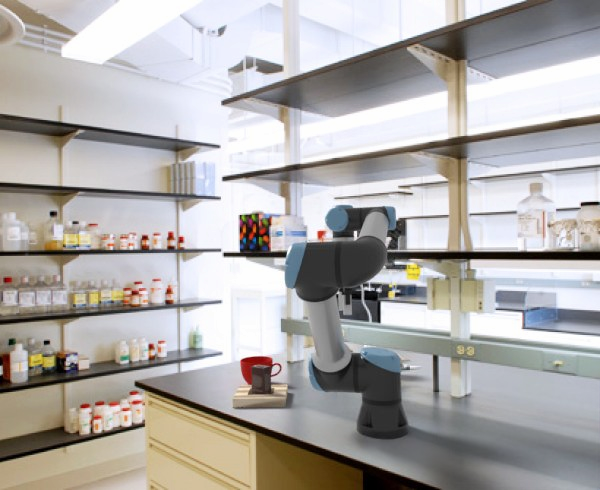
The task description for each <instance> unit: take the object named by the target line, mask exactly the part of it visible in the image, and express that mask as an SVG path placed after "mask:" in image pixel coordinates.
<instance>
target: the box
mask: <svg viewBox="0 0 600 490" xmlns="http://www.w3.org/2000/svg"><path fill="white" fill-rule="evenodd" d="M251 375H252V395H267V394H271V385H272V377H271V375H272V373H271V366H264V365H255V366H252V367H251Z"/></svg>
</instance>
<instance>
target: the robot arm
mask: <svg viewBox="0 0 600 490" xmlns="http://www.w3.org/2000/svg"><path fill="white" fill-rule="evenodd" d="M324 222H325V223H324V224H325V225H326V227H327V228H328V229H329V230H330V231H332V232H331V233H332V239H331V240H332V241H310V242H308V241H307V240H305V241H303V242H302V241H301V242H294V243H291V244H290V246H289V248H288V249H287V252H286V256H285V263H284V283H285V284H284V285H285V287H286V288H288V289H290V290H293V289H295V293H296V296H297V297H298V298H299V299H300V300H302V301H303V303H304V305H305V311H306V315H307V318H308V324H309V329H310V332H311V336H312V341H313V345H314V350H313V351H312V353H311V354H310V355H309V357H308V367H307V370H308V377H309V381H310V385H312V388H313V389H314V390H316V391H317V392H318V391H319V392H325V393H347V394H348V393H353V394H361V405H360V409H359V411H358V415H357V419H356V430H357V432H358V433H360V434H361V435H362V436H363V435H364V436H365V437H369V438H374V439H396V438H400V437H404V436H405V435H407V434H408V433H409V431H410V430H409V426H410V425H409V421H408V417H407V414H406V411H405V409H404V406H403V401H402V400H403V399H402V398H403V397H402V365H401V358H400V355H399V354H398V353H396V352H395V351H393V350H390V349H382V348H375V347H370V348H369V347H365V348H364V347H363V348H361V349H360V351H359V352H352V351H351V348H350V347H349V345H348V344H346V343H345V340H344V333H343V327H342V323H341V317H340V311H341V312H342V311H343V312H342V313H343V316H353V309H352V307H353V302H352V299H353V298H352V297H353V295H352V294H353V288H356V287H359V286H361V285H364V284H365V283H367V282H369V281H370V280H373V278H375V277H376V276H378V274H379V273H380V272H381V271H382V270H383V269H384V267H385V264H386V263H387V260H388V248H387V246H386V242H387V236H388V232H389V231H394V230H395V229H396V228H397V211H396V208H395V207H394V206H390V205H389V206H388V205H386V206H385V205H383V206H367V207H366V206H363V207H362V206H361V207H354V206H353V205H351V204H336V205H333V206H332V208H330V209H329V210H328V211H327V212H326V213H325V216H324ZM355 232H359V235H358V238H356V239H355ZM337 294H338V298H337Z"/></svg>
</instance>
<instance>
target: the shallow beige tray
mask: <svg viewBox="0 0 600 490" xmlns="http://www.w3.org/2000/svg"><path fill="white" fill-rule="evenodd" d="M288 390H289V389H288V384H271V394H267V395H252V385H249V384H245V385H242V384H241V385H239V386H238V388H237V390H236V392H235V393H234V396H233V397H232V408H234V409H236V408H238V407H239V408H241V407H243V408H285V407H286V404H287V399H288V393H289V391H288ZM239 408H238V409H239ZM241 409H242V408H241Z"/></svg>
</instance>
